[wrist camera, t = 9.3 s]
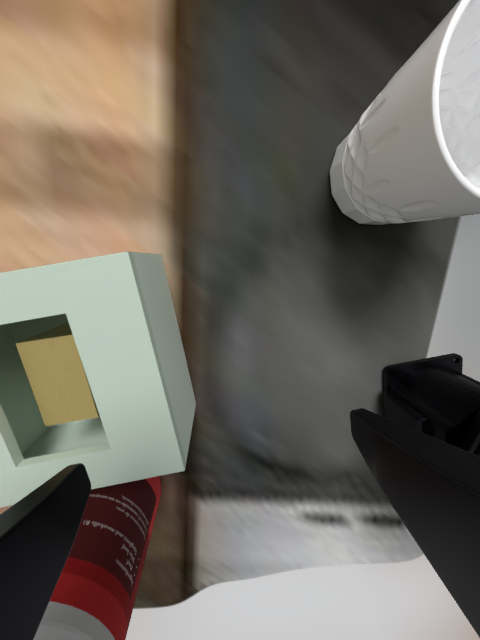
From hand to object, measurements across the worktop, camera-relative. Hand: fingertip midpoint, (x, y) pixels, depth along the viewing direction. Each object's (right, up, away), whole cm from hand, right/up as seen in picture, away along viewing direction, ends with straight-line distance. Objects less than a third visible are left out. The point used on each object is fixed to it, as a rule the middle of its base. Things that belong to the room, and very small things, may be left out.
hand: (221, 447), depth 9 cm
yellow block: (-10, +2, +11) cm, 14 cm away
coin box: (-10, +2, +11) cm, 15 cm away
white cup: (+10, +14, +10) cm, 20 cm away
